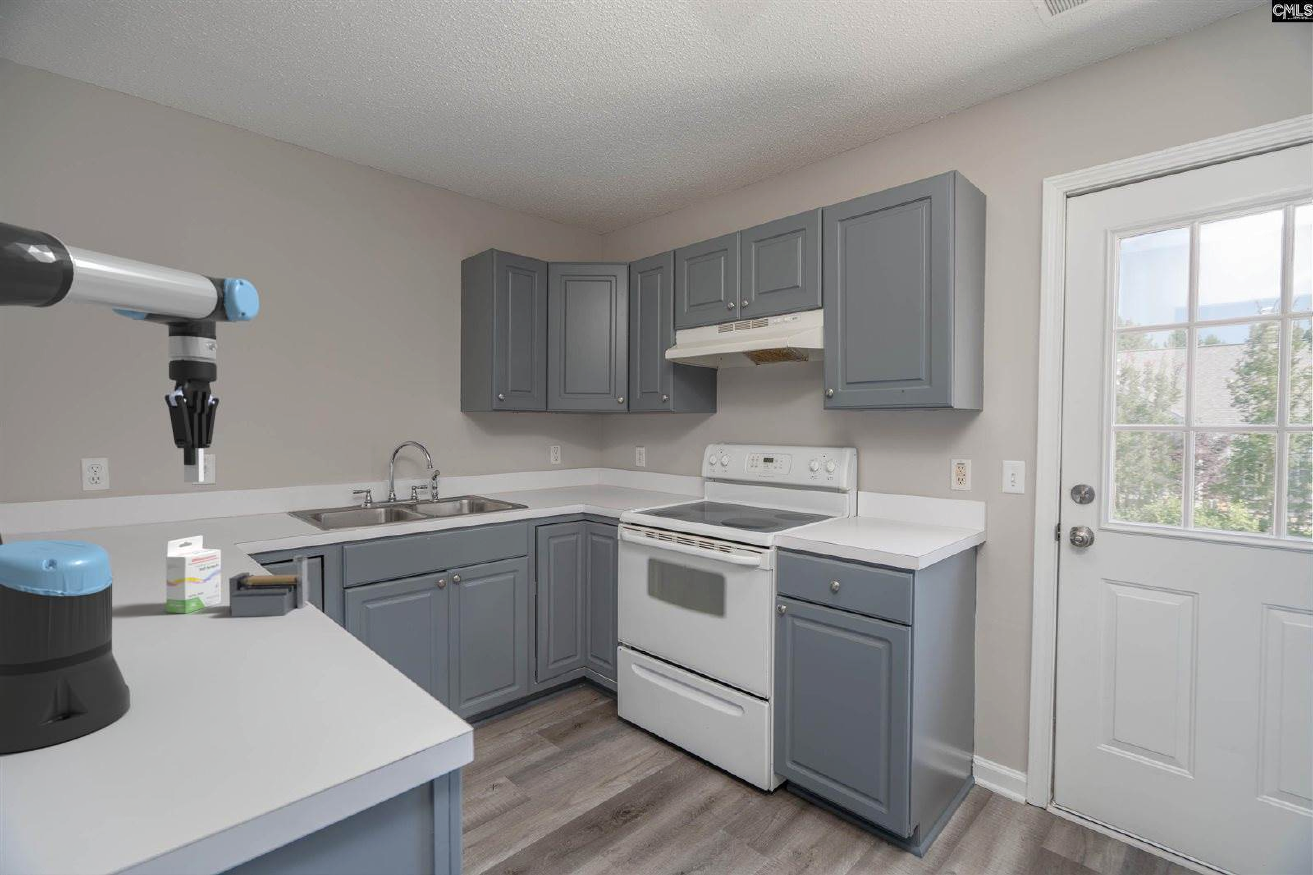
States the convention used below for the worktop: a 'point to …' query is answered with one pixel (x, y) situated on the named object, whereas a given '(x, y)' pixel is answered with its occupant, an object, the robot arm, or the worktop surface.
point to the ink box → (192, 576)
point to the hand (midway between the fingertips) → (193, 481)
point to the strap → (268, 579)
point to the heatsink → (270, 594)
